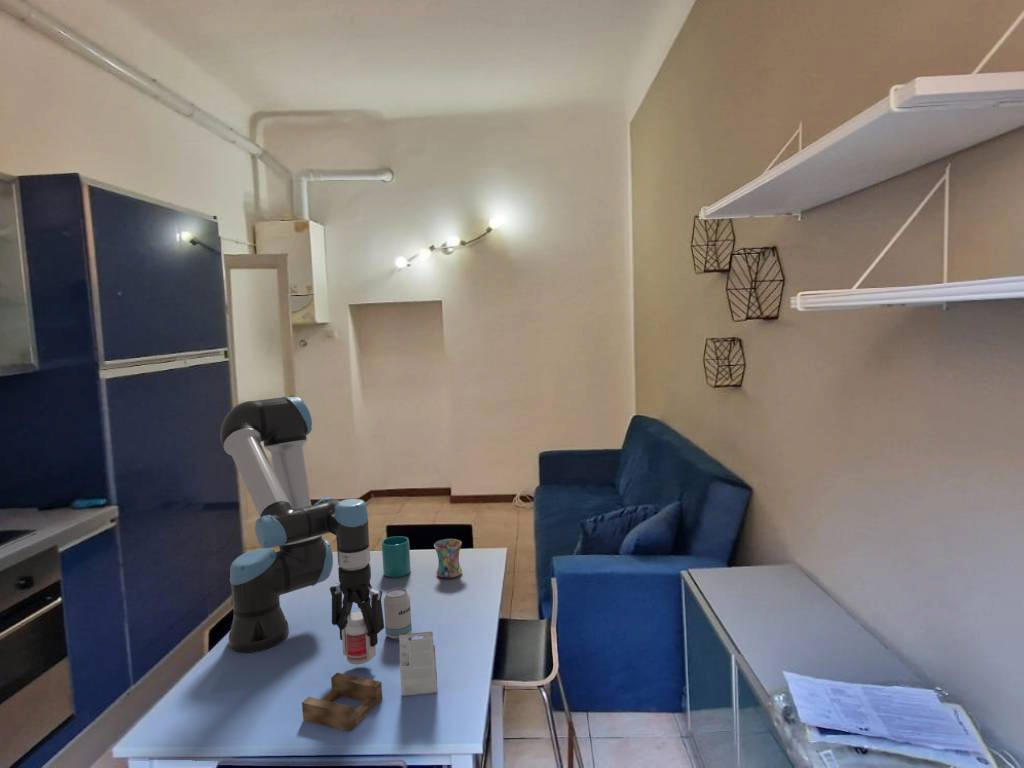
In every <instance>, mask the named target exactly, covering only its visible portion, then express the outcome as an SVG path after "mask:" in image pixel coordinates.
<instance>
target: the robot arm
mask: <svg viewBox="0 0 1024 768" xmlns="http://www.w3.org/2000/svg"><path fill="white" fill-rule="evenodd" d="M229 410H230V411H229V412H228V413H227V414H226V416H225V417H224V419H223V420H222V423H221V426H220V431H219V432H220V433H219V435H220V442H221V445H222V448H223V449H224V452H225V453H226V454H227V455H229V456H231V457H232V459H233V461H234V463H235V465H236V468H237V471H238V472H239V474H240V476H241V479H242V481H243V483H244V485H245V488H246V490H247V492H248V495H249V496H250V498H251V501H252V503H253V505H254V507H255V509H256V512H257V513H258V514H257V515H259V517H258V518H257V519H256V521H255V525H254V531H255V535H256V539H257V542H258V544H259V546H260V547H261V548H257V549H252V550H249V551H247V552H244V553H242V554H241V555H239V556H237V557H236V558H235V559H234V560H233V561H232V562H231V565H230V568H229V572H230V576H229V582H230V586H231V587H230V588H231V589H230V590H231V601H232V611H233V618H232V621H231V626H230V631H229V634H228V647H229V648H230V649H232V650H233V651H235V652H238V653H252V652H253V653H254V652H259V651H264V650H267V649H270V648H273V647H275V646H277V645H279V644H281V643H282V642H283V641H284V640H285V639H287V637H288V636H289V634H290V628H289V627H290V626H289V623H288V620H287V619H286V616H285V614H284V612H283V610H282V607H281V602H280V596H282V595H285V594H288V593H291V592H295V591H298V590H301V589H303V588H307V587H313V586H316V585H317V584H321V583H323V582H325V581H326V580H328V578H329V577H330V576H331V573H332V572H333V571H332V570H333V564H334V557H333V556H334V555H333V550H332V547H331V544H330V542H329V541H328V539H325V538H323V537H322V535H326V534H330V533H331V534H333V535H335V537H336V550H337V551H336V552H337V565H338V566H339V567H337V568H338V581H339V582H337V583H335V584H333V585H331V586H330V587H329V592H330V594H331V625H333V626H337V628H338V630H339V639H340V641H342V654H343V656H347V655H346V638H345V628H346V626H347V624H348V622H347V621H348V619H347V617H348V615H349V614H351V613H352V610H353V609H352V608H353V603H355V604H356V605H357V608H358V609H360V611H361V612H362V615H363V618H364V621H365V625H366V628H367V631H368V633H367V634H366V635H365V636H366V653H367V660H368V662H369V661H371V660H372V659H373V658H374V657H376V655H377V651H376V649H377V648H376V646H377V645H378V634H380V632H381V631H383V630H384V628H385V619H384V614H383V613H384V611H383V606H382V604H383V603H382V596H383V591H382V590H381V589H378V590H375V589H374V588H373V586H372V585H371V580H372V579H371V578H372V570H371V550H370V536H369V531H370V530H369V513H368V507H367V506H368V505H367V503H366V501H364V500H363V499H357V498H347V499H344V500H339V499H338V498H332V497H322V498H321V499H319V500H317V502H315V503H314V504H312V501H311V494H310V487H309V482H308V476H307V469H306V461H305V455H304V450H303V447H304V445H305V444H306V443H307V441H308V439H307V436H308V435H310V434H311V432H312V429H313V427H312V426H313V421H312V420H313V419H312V415H311V412H310V410H309V407H308V405H307V403H306V402H304V400H302V398H300V397H297V396H282V397H274V398H268V399H267V398H265V399H259V400H248V401H244V402H240V403H238V404H237V405H235V406H234V407H232V408H231V409H229ZM261 442H263V446H262V444H261ZM263 447H264V448H263ZM264 449H266V450H267V451H269V453H270V454H271V461H272V464H271V462H270V460H269V459H268V456H267V454H266V452H265V450H264ZM276 547H279V550H278V551H276V550H275V549H274V548H276Z"/></svg>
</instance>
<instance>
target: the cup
mask: <svg viewBox="0 0 1024 768" xmlns="http://www.w3.org/2000/svg"><path fill="white" fill-rule="evenodd" d="M410 554H411V552H410V540H409V537H407V536H402V535H401V536H400V535H399V536H389V537H386V538H384V539H383V540H382V541H381V556H382V569H383V570H382V571H383V575H384V576H385V577H387V578H401V577H405V576H407V575H408V574H409V573H410V572H411V571H412V570H411V569H412V568H411V555H410Z"/></svg>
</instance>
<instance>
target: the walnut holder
mask: <svg viewBox="0 0 1024 768" xmlns="http://www.w3.org/2000/svg"><path fill="white" fill-rule="evenodd" d="M330 682H331V690H330V691H329V692H327V693H326V694H325V695H324V696H323V697H322V698H317V697H312V696H308V697H307V698H305V699H304V700H303V701H302V702H301V706H302V707H301V708H302V720H303V721H305V722H310V723H314V724H318V725H321V726H325V727H329V728H334V729H338V730H341V731H345V732H348V733H349V732H351V731H353V729H354V728H356V727H357V726H358V724H359V723H360V722H361V721H362V720H364V718H365V717H366V716H367V715H368V714H369V713H370V712H371V711H372V710H373V709H374V708H375V706H377V705H378V704H379V703H380V702H381V701H382V700H383V689H382V681H379V680H375V679H369V678H364V677H362V676H361V677H360V676H356V675H351V674H345V673H341V672H336V673H334V674H333V676H331V677H330ZM340 697H342V698H345V699H346V698H347V699H351V700H356V701H360V702H361V704H360V705H359V706H357V708H356V707H355V706H352V705H351V706H350V705H347V704H344V703H343V704H342V703H338V702H335V701H337V700H338V699H339V698H340Z"/></svg>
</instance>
